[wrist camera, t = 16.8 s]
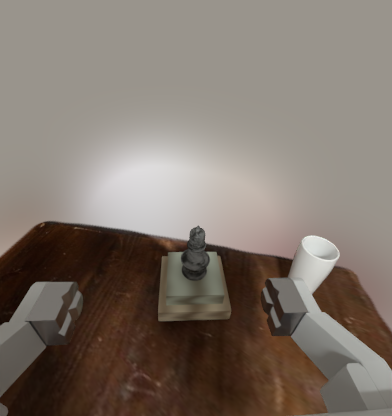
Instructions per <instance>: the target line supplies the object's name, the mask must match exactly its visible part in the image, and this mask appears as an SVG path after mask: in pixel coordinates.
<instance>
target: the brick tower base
mask: <svg viewBox="0 0 392 416" xmlns="http://www.w3.org/2000/svg"><path fill="white" fill-rule="evenodd" d="M182 253H183V252H168V256H162V264H161V278H160V292H159V306H158V321H184V320H214V319H229V318H230V314H231V306H230V301H229V296H228V291H227V287H226V282H225V277H224V272H223V267H222V262H221V258H220V256H217V252H207V253H208V255H209V257H210V263H209V265H208V266H207V267H206V268H207V273H206V275H205V277H204V278H203V279H201V280H197V281H193V280H189V279H187V278H186V277H184V275H183V274H182V266H183V264H182V262H181V255H182Z"/></svg>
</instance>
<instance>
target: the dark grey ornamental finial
mask: <svg viewBox="0 0 392 416" xmlns="http://www.w3.org/2000/svg"><path fill="white" fill-rule="evenodd" d="M204 240H205V231H204V230H203V229H202V228H200V227H199V226H197V227H196V228H193V229H192V230H191V231H190V239H189V241H188V243H187V247H188V249H187V250H185V251H184V252H183V253H182V255H181V262H182V264H183V266H182V274H183V275H184V277H186V278H187V279H189V280H193V281H197V280H201V279H203V278H204V277H205V275H206V273H207V268H206V267H207V266H208V265H209V263H210V257H209V255H208V253H207V252H206V251H204V249H205V247H206V243H205V241H204Z"/></svg>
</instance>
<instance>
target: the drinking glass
mask: <svg viewBox="0 0 392 416" xmlns="http://www.w3.org/2000/svg"><path fill="white" fill-rule="evenodd" d="M339 255H340V254H339V251H338V249H337V247H336V246H335V245H334V244H333V243H331V242H330V241H328V240H326V239H324V238H321V237H318V236H306V237H304V238H303V239H302V241H301V243H300V245H299V247H298V249H297V251H296V253H295V256H294V259H293V262H292V265H291V268H290V272H289V275H288V278H302V279H303V280H304V282H305V283H306V285H307V287H308V289H309V291H310V292H311V294H313V293H314V291H315V290H316V289H317V288H318V287H319V285H320V284H321V283H322V282H323V281H324V279H325V278H326V277H327V276H328V274H329V273H330V272H331V270H332V269H333V267H334V265H335V264H336V262H337V260H338V258H339Z"/></svg>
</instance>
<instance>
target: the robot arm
mask: <svg viewBox="0 0 392 416" xmlns="http://www.w3.org/2000/svg"><path fill="white" fill-rule="evenodd" d="M265 285H266V287H265V288H264V289H262V292H261V303H262V307H263V310H264V312H265V313H267V314H268V315H269V316H268V319H267V323H268V326H269V329H270V332H271V335H272V336H291V338H292V339H293V340H294V341H295V342H296V343H297V344H298V346H299V347H300V348H301V349H302V350H303V351H304V352H305V353H306V355H307V356H308V357H309V358H310V359H311V360H312V361H313V363H314V364H315V365H316V366H317V367H318V368H319V369H320V370H321V372H322V373H323V374H324V375H325V376H326V377H327V378H328V380H329V381H328V382H327V383H326V384H325V385H324V386H323V387H322V388H321V390H320V392H321V395H322V397H323V400H324V402H325V405H326V407H327V410H328V412H329V413H322V414H308V415H295V416H392V371H391V369H390V368H389V366H388V365H387V363H386V362H385V360H383V359H382V358H381V357H380V356H378V355H377V354H376V353H375V352H374V351H372V350H371V349H370V348H369V347H367V346H366V345H365V344H364V343H362V342H361V341H360V340H359V339H357V338H356V337H355V336H354V335H352V334H351V333H350V332H349V331H347V330H346V329H345V328H344V327H342V326H341V325H340V324H339V323H337V322H336V321H335V320H334V319H332V318H331V317H330V316H329V315H327V314H326V313H325V312H321V311H320V309H319V307H318V305H317V303H316V301H315V300H314V298H313V296H312V294H311V292H310V291H309V289H308V287H307V285H306V283H305V282H304V280H303V279H302V278H268V279H267V280H266V282H265ZM78 287H79V286H78V284H77V282H35V283H34V284H33V285H32V286H31V287H30V289H29V291H28V292H27V294H26V295H25V297H24V299H23V300H22V302H21V304H20V305H19V307H18V308H17V310H16V312H15V313H14V315H13V316H12V318H11V320H10V321H9V322H5V323H3V324H2V325H1V326H0V397H1V396H2V395H3V393H4V392H5V391H6V390H7V389H8V388H9V387H10V386H11V385H12V384H13V383H14V382H15V381H16V379H17V378H18V377H19V376H20V375H21V374H22V373H23V372H24V371H25V370H26V369H27V368H28V366H29V365H30V364H31V363H32V362H33V361H34V360H35V359H36V358H37V357H38V356H39V355H40V353H41V352H42V351H43V350H44V349H45V348H46V346H51V345H65V344H69V343H70V340H71V338H72V335H73V332H74V330H75V324H74V321H75V320H76V319H77V318H78V317H79V316H80V313H81V310H82V305H83V297H82V294H81V293H80V292H78V291H77V290H78ZM7 414H8V409H7V407H6V406H4V405H3V404H1V403H0V416H7Z"/></svg>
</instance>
